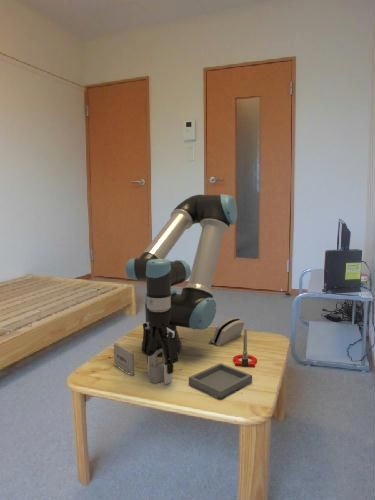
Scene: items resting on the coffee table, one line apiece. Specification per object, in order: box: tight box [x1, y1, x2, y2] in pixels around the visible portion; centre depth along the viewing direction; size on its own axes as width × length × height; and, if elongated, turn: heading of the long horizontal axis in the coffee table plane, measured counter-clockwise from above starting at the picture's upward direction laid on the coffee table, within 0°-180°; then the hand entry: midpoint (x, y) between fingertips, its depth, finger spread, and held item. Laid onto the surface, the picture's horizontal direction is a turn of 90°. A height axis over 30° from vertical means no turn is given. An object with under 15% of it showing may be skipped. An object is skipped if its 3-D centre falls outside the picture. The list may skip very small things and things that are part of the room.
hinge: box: [208, 317, 245, 347], centre depth 161 cm, size 17×5×10 cm, turn 140°
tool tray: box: [188, 362, 253, 401], centre depth 123 cm, size 13×15×2 cm
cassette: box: [113, 342, 135, 376], centre depth 134 cm, size 12×2×8 cm, turn 39°
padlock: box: [148, 349, 166, 385], centre depth 126 cm, size 7×4×10 cm, turn 138°
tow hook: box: [232, 329, 258, 368], centre depth 140 cm, size 8×13×9 cm
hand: (159, 378), depth 127 cm, fingers open, 7 cm apart
